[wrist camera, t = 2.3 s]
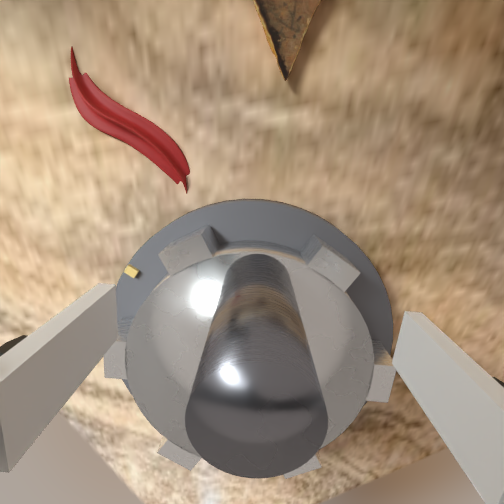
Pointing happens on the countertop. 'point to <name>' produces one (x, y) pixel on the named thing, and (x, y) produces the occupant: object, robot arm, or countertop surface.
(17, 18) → the countertop surface
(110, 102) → the cayenne pepper
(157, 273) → the base plate
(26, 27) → the countertop surface
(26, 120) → the countertop surface
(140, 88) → the countertop surface
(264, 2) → the shard
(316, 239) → the tabbed dome lid
